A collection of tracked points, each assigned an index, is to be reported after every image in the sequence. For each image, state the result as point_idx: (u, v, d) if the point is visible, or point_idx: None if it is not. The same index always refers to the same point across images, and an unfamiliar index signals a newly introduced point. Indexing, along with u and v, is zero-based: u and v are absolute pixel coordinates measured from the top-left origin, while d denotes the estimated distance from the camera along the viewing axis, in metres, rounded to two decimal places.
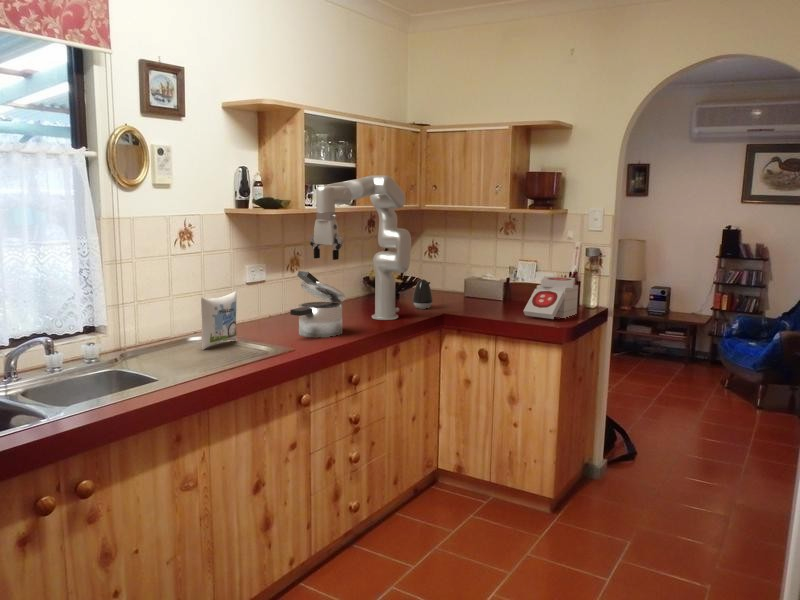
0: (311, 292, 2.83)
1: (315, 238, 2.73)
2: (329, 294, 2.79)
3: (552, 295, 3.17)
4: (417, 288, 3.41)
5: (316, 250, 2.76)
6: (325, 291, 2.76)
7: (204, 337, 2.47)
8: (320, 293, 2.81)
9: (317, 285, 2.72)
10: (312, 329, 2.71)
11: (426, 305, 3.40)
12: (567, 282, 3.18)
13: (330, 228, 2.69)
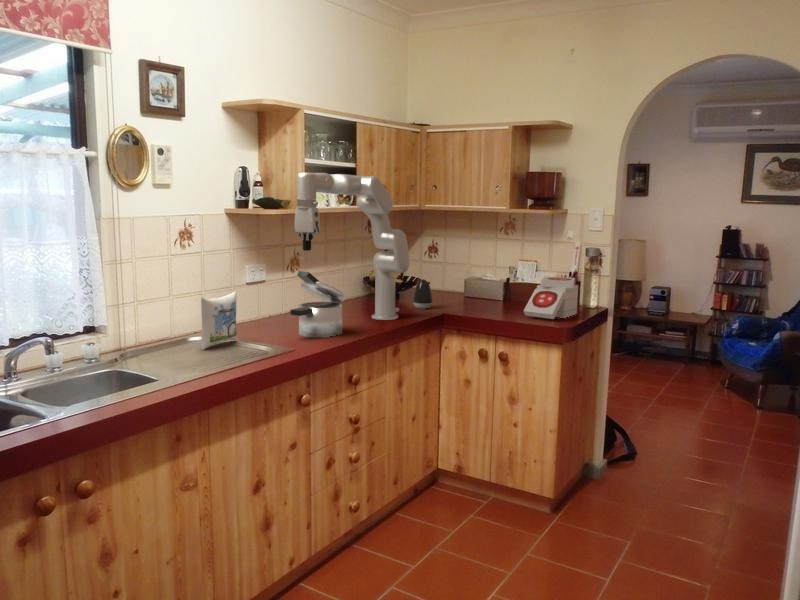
0: (311, 292, 2.83)
1: (296, 226, 2.67)
2: (329, 294, 2.79)
3: (552, 295, 3.17)
4: (417, 288, 3.41)
5: None
6: (325, 291, 2.76)
7: (204, 337, 2.47)
8: (320, 293, 2.81)
9: (317, 285, 2.72)
10: (312, 329, 2.71)
11: (426, 305, 3.40)
12: (567, 282, 3.18)
13: (311, 215, 2.62)
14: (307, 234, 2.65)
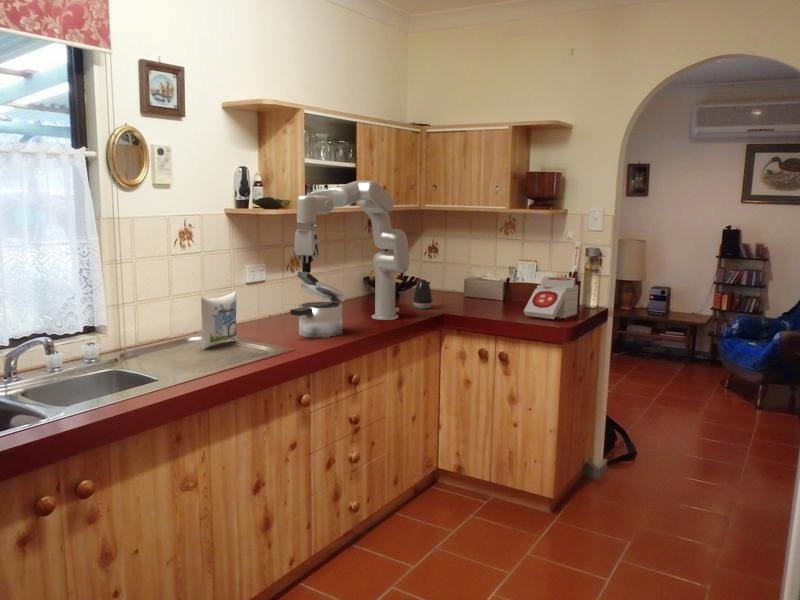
0: (311, 292, 2.83)
1: (295, 248, 2.68)
2: (329, 294, 2.79)
3: (553, 295, 3.17)
4: (417, 288, 3.41)
5: None
6: (325, 291, 2.76)
7: (204, 337, 2.47)
8: (320, 293, 2.81)
9: (317, 285, 2.72)
10: (312, 329, 2.71)
11: (426, 305, 3.40)
12: (567, 282, 3.18)
13: (310, 238, 2.63)
14: (307, 257, 2.66)
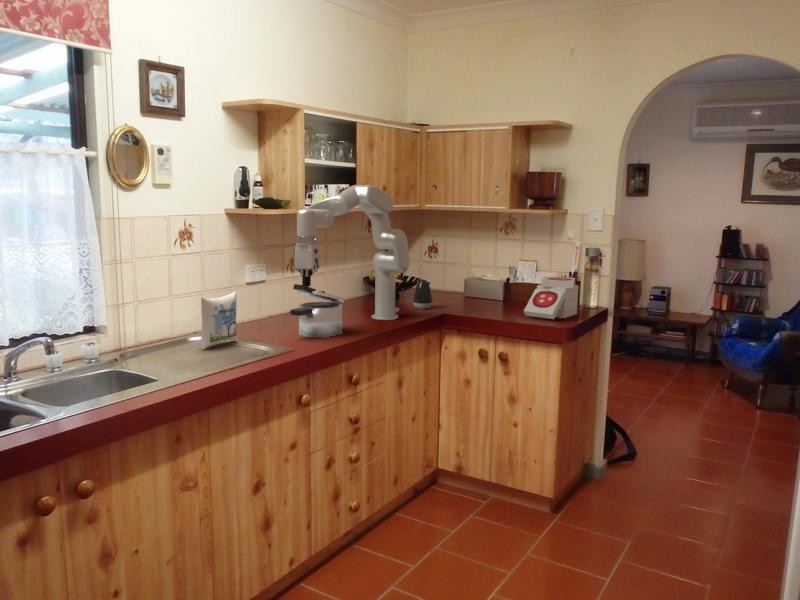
0: (310, 296, 2.83)
1: (295, 262, 2.68)
2: (328, 298, 2.78)
3: (553, 295, 3.17)
4: (417, 288, 3.41)
5: None
6: (323, 297, 2.76)
7: (204, 337, 2.47)
8: (319, 297, 2.81)
9: (315, 294, 2.71)
10: (312, 329, 2.71)
11: (426, 305, 3.40)
12: (567, 282, 3.18)
13: (310, 252, 2.64)
14: (307, 270, 2.67)
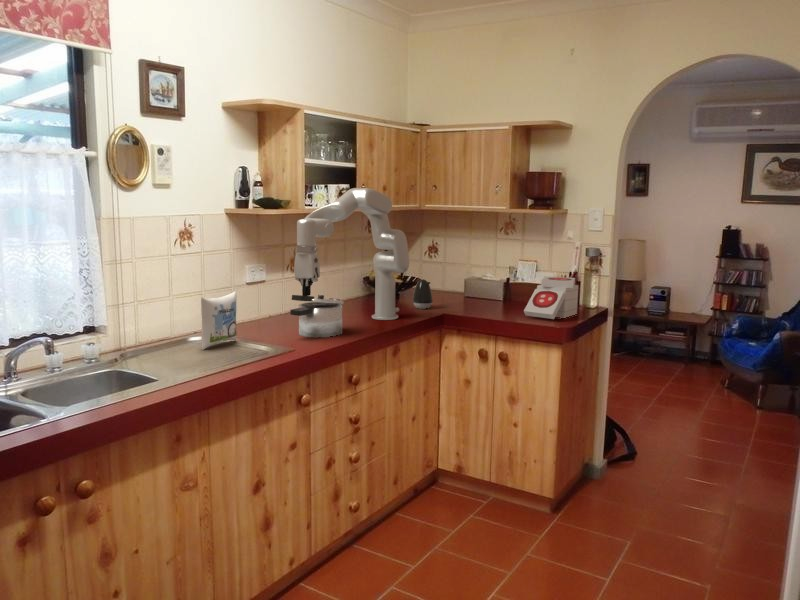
0: None
1: (295, 271, 2.69)
2: None
3: (553, 295, 3.17)
4: (417, 288, 3.41)
5: None
6: None
7: (204, 337, 2.47)
8: None
9: None
10: (312, 329, 2.71)
11: (426, 305, 3.40)
12: (567, 282, 3.18)
13: (310, 261, 2.64)
14: (307, 280, 2.67)
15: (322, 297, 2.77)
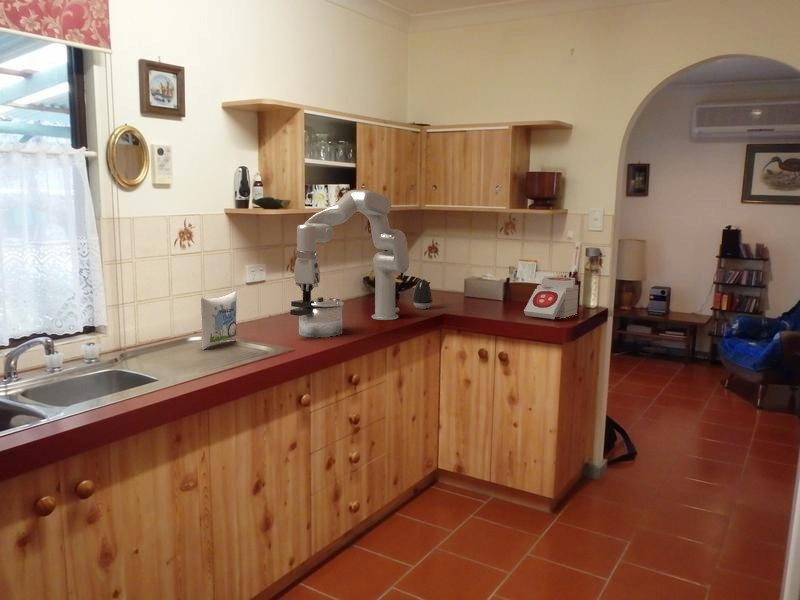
0: None
1: (296, 276, 2.69)
2: None
3: (553, 295, 3.17)
4: (417, 288, 3.41)
5: None
6: None
7: (204, 337, 2.47)
8: None
9: None
10: (312, 329, 2.71)
11: (426, 305, 3.40)
12: (567, 282, 3.18)
13: (310, 267, 2.65)
14: (307, 285, 2.68)
15: (322, 299, 2.77)
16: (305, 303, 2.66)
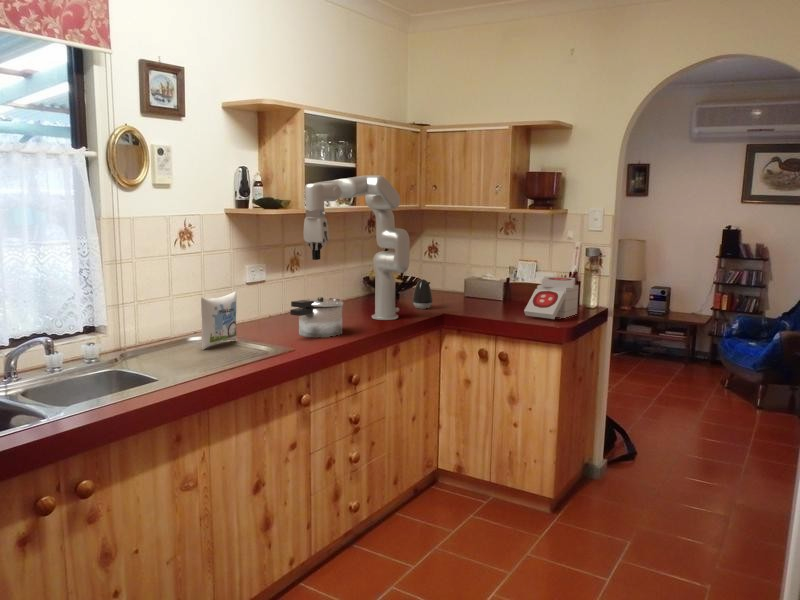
0: None
1: (305, 236, 2.72)
2: None
3: (553, 295, 3.17)
4: (417, 288, 3.41)
5: None
6: None
7: (204, 337, 2.47)
8: None
9: None
10: (312, 329, 2.71)
11: (426, 305, 3.40)
12: (568, 282, 3.18)
13: (319, 225, 2.67)
14: (316, 244, 2.70)
15: (322, 300, 2.77)
16: (305, 303, 2.66)
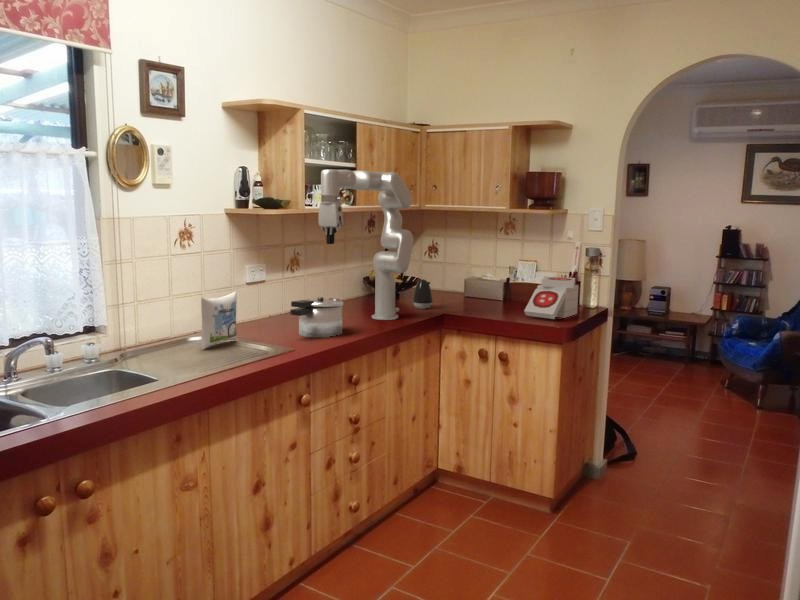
0: None
1: (320, 220, 2.79)
2: None
3: (553, 295, 3.17)
4: (417, 288, 3.41)
5: None
6: None
7: (204, 337, 2.47)
8: None
9: None
10: (312, 329, 2.71)
11: (426, 305, 3.40)
12: (568, 282, 3.18)
13: (334, 210, 2.75)
14: (331, 228, 2.78)
15: (322, 300, 2.77)
16: (305, 303, 2.66)
